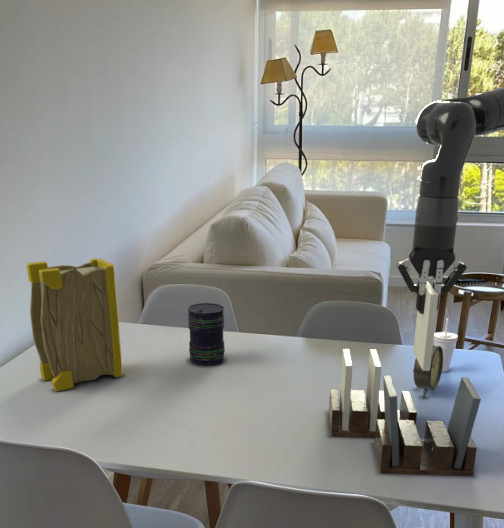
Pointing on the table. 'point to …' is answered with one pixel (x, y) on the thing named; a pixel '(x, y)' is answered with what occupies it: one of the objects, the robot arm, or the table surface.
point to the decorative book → (75, 321)
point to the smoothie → (446, 345)
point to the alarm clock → (432, 377)
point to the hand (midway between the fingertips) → (426, 312)
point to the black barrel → (206, 334)
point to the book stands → (402, 437)
